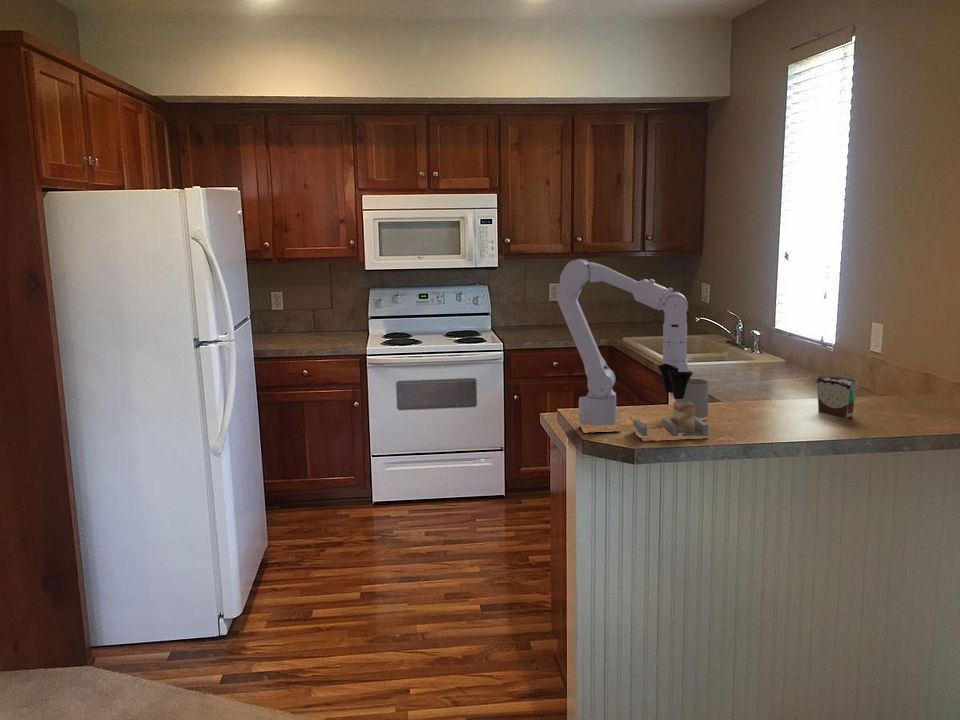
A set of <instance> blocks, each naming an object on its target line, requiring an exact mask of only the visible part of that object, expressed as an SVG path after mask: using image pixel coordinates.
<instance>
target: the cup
mask: <svg viewBox="0 0 960 720" xmlns="http://www.w3.org/2000/svg"><path fill="white" fill-rule="evenodd" d="M709 385H710V384H709V381H708V380H706V379H702V378H701V379H700V378H690V379H689V381H688V383H687V386H686V390H685V394H684V398H683V399H675V402H687V401H690V402H692V403H693V404H695V416H696V417H698V418H704V417H707V416H708V417H709V387H710V386H709Z"/></svg>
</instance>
